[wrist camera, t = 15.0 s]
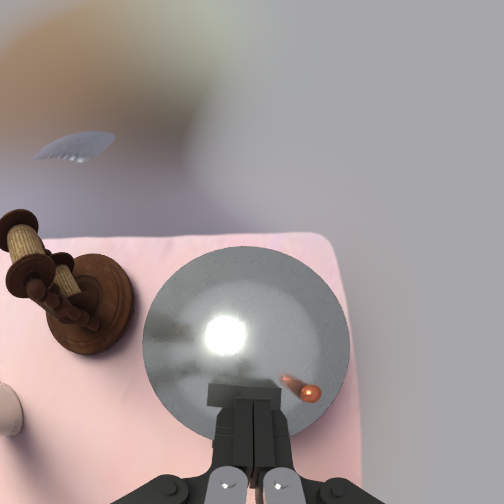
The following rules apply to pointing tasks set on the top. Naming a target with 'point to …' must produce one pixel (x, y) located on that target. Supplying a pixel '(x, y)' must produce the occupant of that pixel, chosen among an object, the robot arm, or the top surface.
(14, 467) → the top surface
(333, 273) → the top surface
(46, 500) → the top surface
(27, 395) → the top surface
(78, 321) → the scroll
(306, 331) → the lid
